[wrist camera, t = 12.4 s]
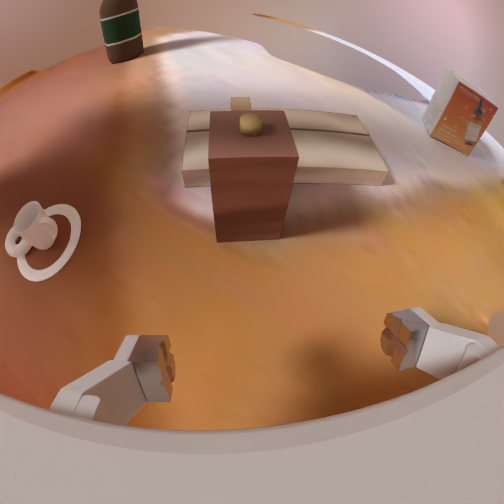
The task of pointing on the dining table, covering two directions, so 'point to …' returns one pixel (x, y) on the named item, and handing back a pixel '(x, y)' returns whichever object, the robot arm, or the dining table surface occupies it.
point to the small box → (458, 112)
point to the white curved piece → (41, 237)
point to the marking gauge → (250, 171)
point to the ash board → (301, 149)
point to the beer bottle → (121, 29)
